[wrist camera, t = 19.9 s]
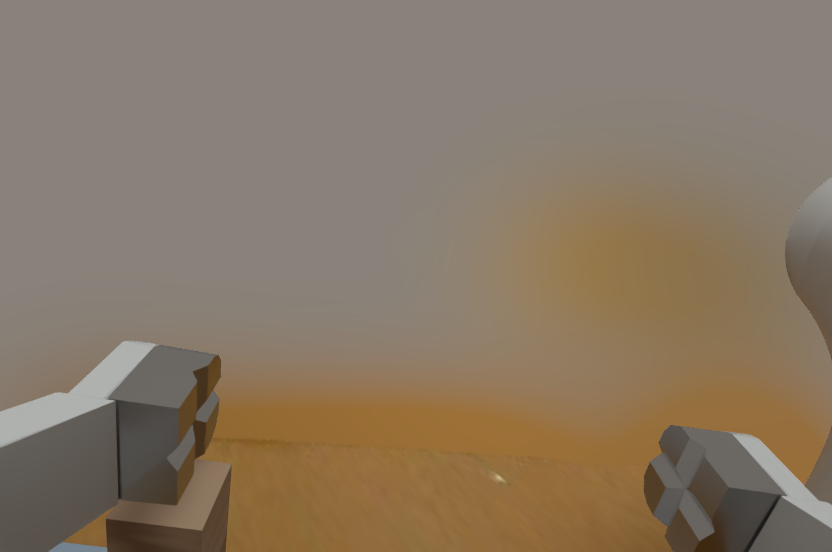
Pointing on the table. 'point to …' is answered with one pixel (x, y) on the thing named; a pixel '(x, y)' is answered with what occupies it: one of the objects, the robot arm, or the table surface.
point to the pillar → (176, 517)
